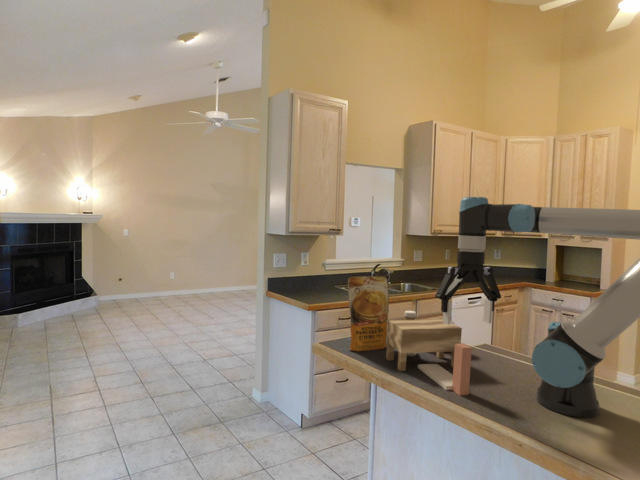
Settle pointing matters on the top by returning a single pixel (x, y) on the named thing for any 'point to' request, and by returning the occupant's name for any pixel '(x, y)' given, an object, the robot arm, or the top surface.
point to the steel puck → (411, 354)
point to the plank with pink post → (460, 371)
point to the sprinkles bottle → (410, 315)
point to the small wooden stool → (421, 338)
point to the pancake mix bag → (368, 312)
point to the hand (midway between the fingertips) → (467, 322)
